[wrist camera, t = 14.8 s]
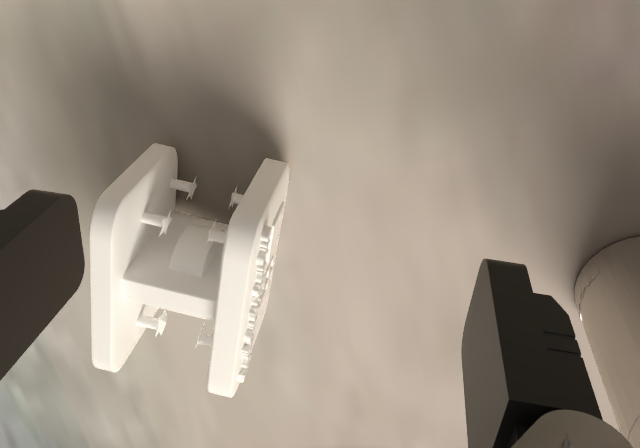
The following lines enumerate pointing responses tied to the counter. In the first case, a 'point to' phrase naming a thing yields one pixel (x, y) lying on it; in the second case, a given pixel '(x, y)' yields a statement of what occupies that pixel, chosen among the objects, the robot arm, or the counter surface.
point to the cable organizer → (182, 264)
